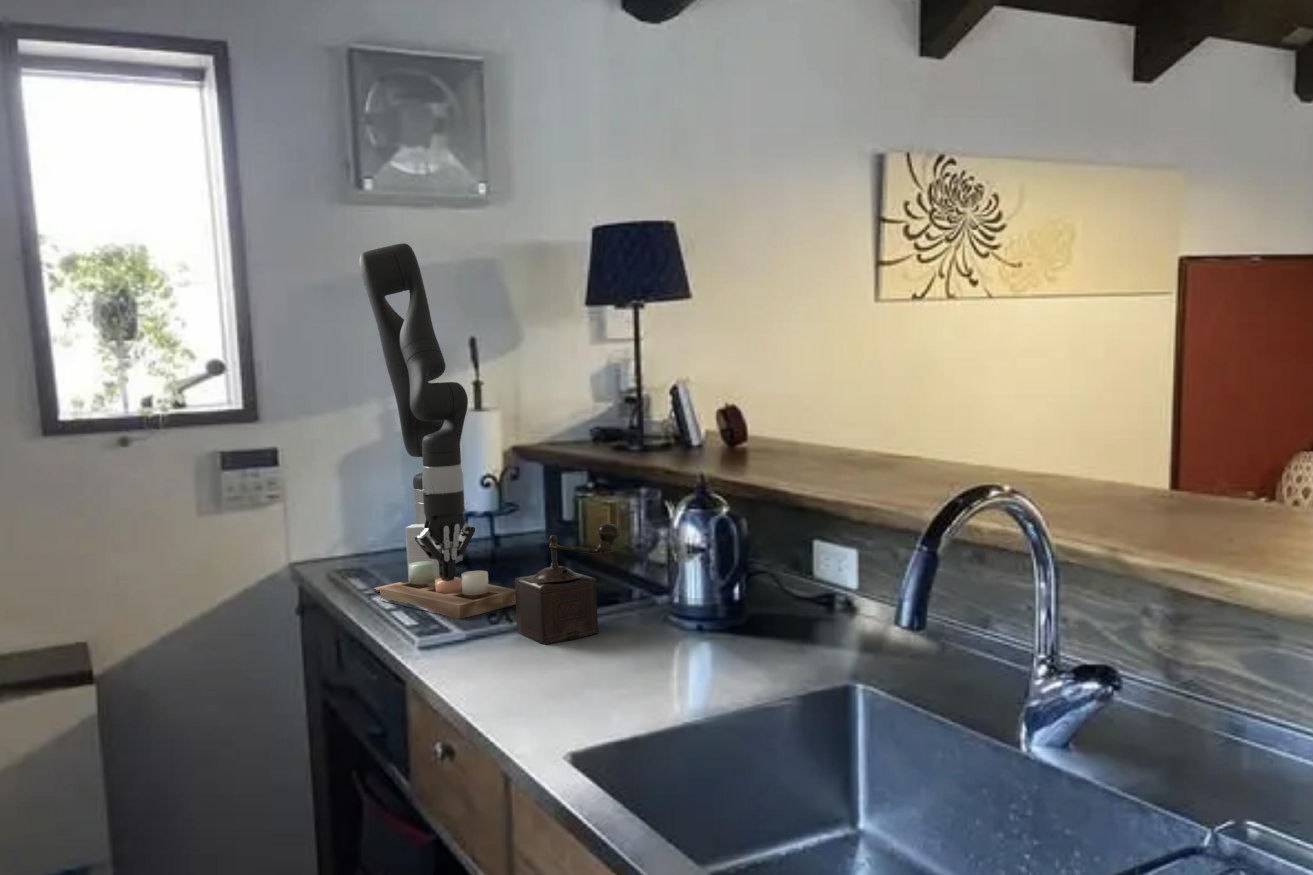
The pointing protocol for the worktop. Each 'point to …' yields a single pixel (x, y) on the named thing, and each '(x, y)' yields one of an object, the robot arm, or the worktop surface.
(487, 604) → the button board
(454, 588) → the peach rounded piece
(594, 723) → the worktop surface
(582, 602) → the coffee grinder
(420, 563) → the button sage
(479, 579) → the button cream
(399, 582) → the tile
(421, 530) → the skincare box
